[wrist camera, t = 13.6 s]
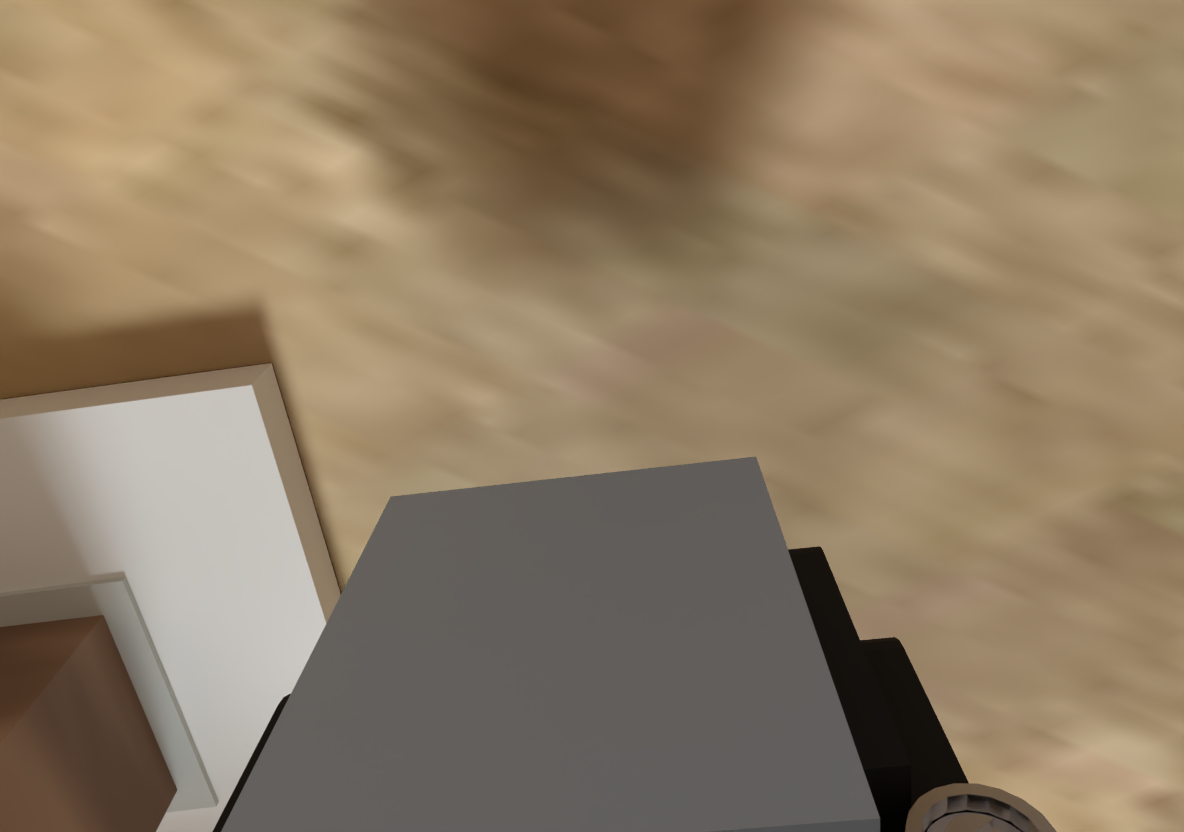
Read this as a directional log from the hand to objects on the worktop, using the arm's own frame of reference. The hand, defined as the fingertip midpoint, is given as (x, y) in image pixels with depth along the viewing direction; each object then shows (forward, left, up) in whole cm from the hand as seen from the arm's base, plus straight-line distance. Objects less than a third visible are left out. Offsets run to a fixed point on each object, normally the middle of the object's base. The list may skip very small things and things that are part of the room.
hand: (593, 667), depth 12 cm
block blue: (0, 0, -1) cm, 1 cm away
